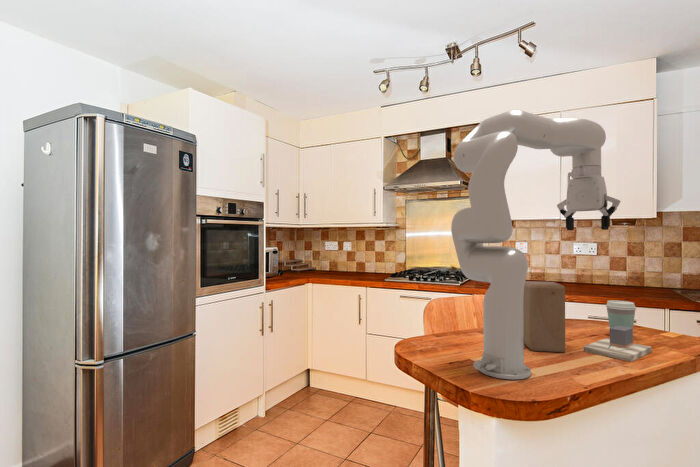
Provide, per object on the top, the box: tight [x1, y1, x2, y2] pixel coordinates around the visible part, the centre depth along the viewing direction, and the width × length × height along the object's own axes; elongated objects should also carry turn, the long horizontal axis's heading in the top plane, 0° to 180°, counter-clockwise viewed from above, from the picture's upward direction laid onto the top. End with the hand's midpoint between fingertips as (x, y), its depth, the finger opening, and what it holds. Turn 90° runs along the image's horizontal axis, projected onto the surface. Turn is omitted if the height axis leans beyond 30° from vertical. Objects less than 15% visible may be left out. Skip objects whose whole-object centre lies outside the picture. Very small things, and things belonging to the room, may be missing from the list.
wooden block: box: [524, 280, 566, 353], centre depth 118 cm, size 10×10×20 cm
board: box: [582, 338, 653, 363], centre depth 114 cm, size 16×12×2 cm
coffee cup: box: [605, 299, 637, 329], centre depth 131 cm, size 8×8×12 cm
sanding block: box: [609, 326, 634, 348], centre depth 116 cm, size 6×4×5 cm, turn 126°
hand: (587, 229), depth 116 cm, fingers open, 9 cm apart
